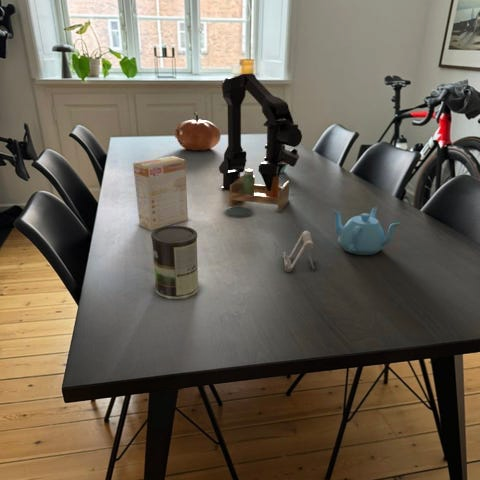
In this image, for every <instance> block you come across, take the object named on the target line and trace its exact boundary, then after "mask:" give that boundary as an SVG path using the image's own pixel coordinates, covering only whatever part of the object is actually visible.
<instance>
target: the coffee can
mask: <svg viewBox="0 0 480 480" xmlns="http://www.w3.org/2000/svg"><path fill="white" fill-rule="evenodd" d="M150 239H151V245H152V246H151V247H152V256H153V257H152V258H153V268H154V269H153V270H154V281H155V292H156V294H157V295H158V296H160V297H162V298H165V299H169V300H183V299H188V298H191V297H192V296H194V295H196V294H197V293H198V292H199V273H198V272H199V271H198V270H199V269H198V232H197V230H195V229H194V228H191V227H188V226H182V225H168V226H164V227H161V228H157V229H154V230H152V232H151V234H150Z"/></svg>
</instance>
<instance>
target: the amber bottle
mask: <svg viewBox="0 0 480 480" xmlns="http://www.w3.org/2000/svg"><path fill="white" fill-rule="evenodd" d="M277 174H278V173H277ZM277 174H276V175H275V176H274V179H273V184H272V188H271V191H268V190H267V188H266V196H269V197H277V196H278V190H279V187H280V177H279V178H278V176H277Z"/></svg>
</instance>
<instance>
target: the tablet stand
mask: <svg viewBox="0 0 480 480" xmlns="http://www.w3.org/2000/svg"><path fill="white" fill-rule="evenodd" d="M302 241H303V244H302V246H301V248H300V249H299V252H298V253H297V255H296V256H295V258H294V260H293V262H291V261H292V258H293V256H294V254H295V252H296V251H297V250H298V248H299V245H300V244H301V242H302ZM314 247H315V245H314V242H313V239H312V235H311V232H310V231H309V230H304V231H302V233H301V235H300V237H299V238H298V240H297V242H296V243H295V245H294V247H293V249H292V251H291V252H290V253H289V254H287V251H283V255H282V256H283V265H284V271H285V272H287V273H291V272H292V271H293V270H294V268H295V267H296V265H297V263H298V261H299V259H300V258H301V256H302V254H303V253H304V251H306V253H307V256H308V259H309V262H310V265H311V267H312V270H315V267H314V263H313V260H312V257H311V253H310V251H312V250H313V249H314Z"/></svg>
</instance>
